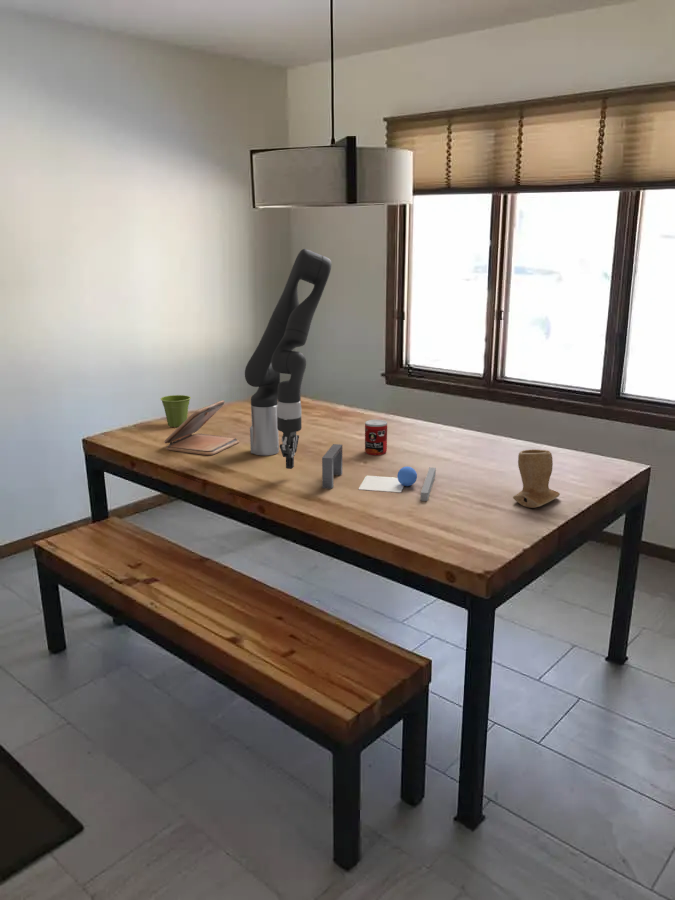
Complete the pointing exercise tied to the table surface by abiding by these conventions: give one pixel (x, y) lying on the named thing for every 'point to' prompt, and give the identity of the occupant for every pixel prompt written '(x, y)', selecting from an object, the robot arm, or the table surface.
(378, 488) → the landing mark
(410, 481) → the ball
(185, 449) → the case
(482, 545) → the table surface
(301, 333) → the robot arm
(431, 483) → the wall
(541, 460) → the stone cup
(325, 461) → the bridge
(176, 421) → the plant pot
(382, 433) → the canned food
